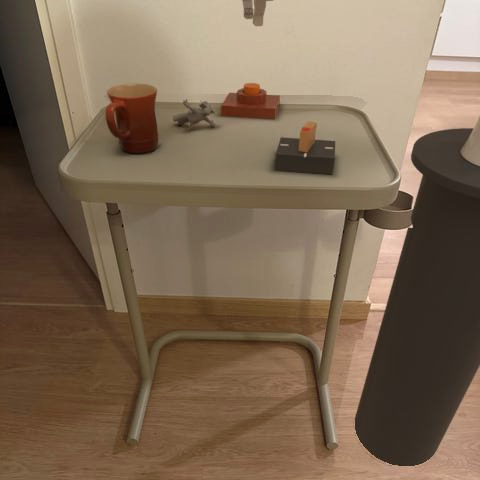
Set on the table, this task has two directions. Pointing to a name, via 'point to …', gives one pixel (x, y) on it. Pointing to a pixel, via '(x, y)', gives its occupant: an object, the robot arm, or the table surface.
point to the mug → (133, 117)
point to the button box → (250, 105)
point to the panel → (305, 157)
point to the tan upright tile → (307, 136)
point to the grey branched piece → (195, 114)
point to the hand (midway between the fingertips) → (252, 22)
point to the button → (251, 88)
